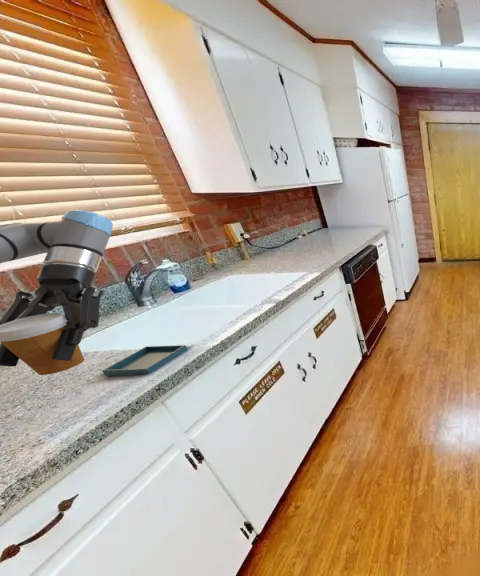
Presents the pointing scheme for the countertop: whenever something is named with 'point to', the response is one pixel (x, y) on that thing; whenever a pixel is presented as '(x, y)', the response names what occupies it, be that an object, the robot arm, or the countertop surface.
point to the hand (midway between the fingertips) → (33, 362)
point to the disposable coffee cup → (38, 342)
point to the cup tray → (145, 360)
